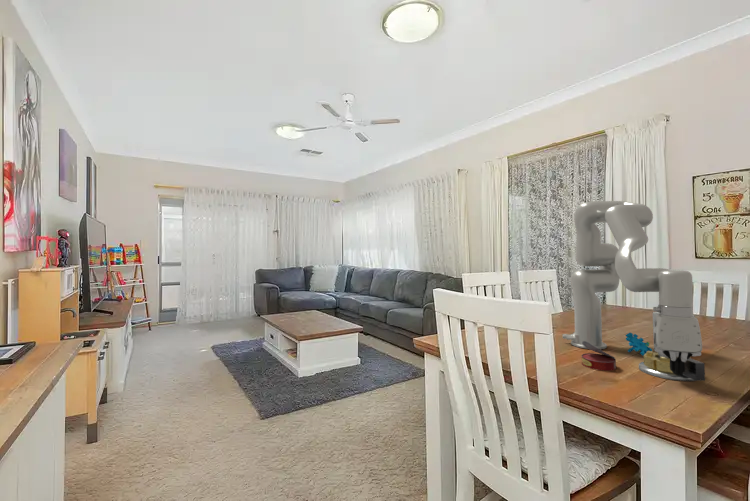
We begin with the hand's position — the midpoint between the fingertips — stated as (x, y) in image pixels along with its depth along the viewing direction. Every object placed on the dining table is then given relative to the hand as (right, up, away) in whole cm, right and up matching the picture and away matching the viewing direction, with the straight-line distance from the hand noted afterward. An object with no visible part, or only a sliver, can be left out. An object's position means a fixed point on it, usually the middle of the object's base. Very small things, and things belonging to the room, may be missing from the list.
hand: (677, 373), depth 100 cm
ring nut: (+4, -1, +5) cm, 7 cm away
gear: (+11, -3, +28) cm, 30 cm away
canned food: (-13, -4, +16) cm, 21 cm away
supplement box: (+25, -3, +29) cm, 38 cm away
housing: (+4, -3, +8) cm, 10 cm away
